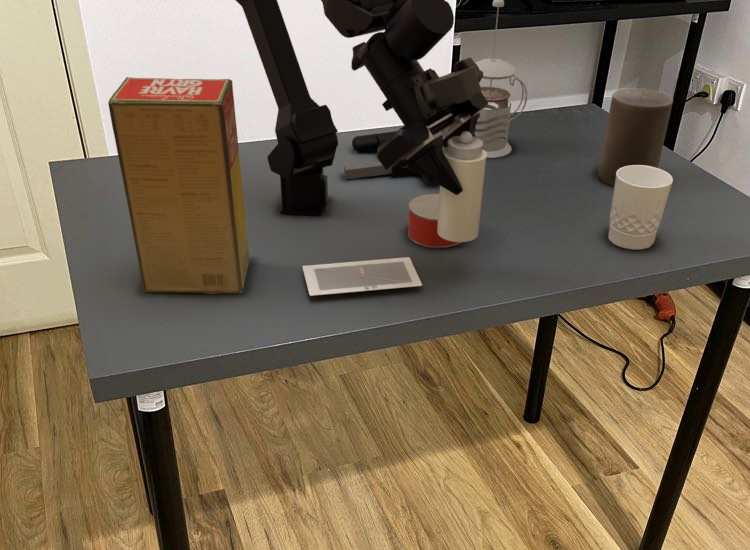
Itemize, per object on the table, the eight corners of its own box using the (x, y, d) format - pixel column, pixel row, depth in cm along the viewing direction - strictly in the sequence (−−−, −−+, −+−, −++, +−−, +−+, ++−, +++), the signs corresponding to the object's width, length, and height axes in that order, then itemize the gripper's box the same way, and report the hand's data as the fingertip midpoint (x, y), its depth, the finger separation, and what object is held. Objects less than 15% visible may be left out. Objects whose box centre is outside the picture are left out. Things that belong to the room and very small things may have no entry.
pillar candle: (630, 194, 136) (650, 102, 127) (585, 174, 142) (601, 85, 133) (667, 180, 141) (688, 90, 132) (621, 161, 147) (639, 74, 138)
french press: (451, 139, 154) (461, -9, 138) (510, 135, 156) (526, -11, 140) (467, 159, 146) (479, 6, 130) (529, 155, 148) (548, 4, 133)
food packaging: (251, 259, 116) (234, 76, 101) (243, 294, 109) (223, 103, 93) (155, 258, 116) (123, 74, 100) (141, 293, 108) (103, 101, 93)
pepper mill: (436, 241, 109) (443, 139, 100) (437, 221, 113) (443, 122, 105) (479, 243, 109) (489, 141, 100) (478, 223, 113) (488, 124, 105)
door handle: (352, 180, 132) (449, 166, 135) (329, 134, 147) (417, 123, 150) (353, 199, 134) (449, 185, 137) (331, 152, 149) (417, 141, 152)
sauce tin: (406, 247, 120) (407, 217, 117) (409, 220, 127) (410, 192, 124) (465, 249, 120) (467, 220, 117) (464, 223, 127) (467, 195, 124)
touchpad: (302, 273, 114) (301, 259, 112) (409, 264, 116) (409, 250, 115) (310, 302, 108) (309, 288, 106) (422, 292, 110) (422, 278, 109)
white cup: (627, 256, 120) (641, 191, 113) (592, 233, 125) (604, 170, 119) (668, 245, 123) (685, 181, 116) (633, 223, 128) (647, 161, 122)
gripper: (401, 58, 91) (480, 178, 94) (481, 22, 104) (549, 129, 106) (343, 114, 100) (417, 223, 102) (424, 74, 112) (488, 173, 114)
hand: (471, 185), depth 106 cm, fingers closed on pepper mill, 5 cm apart
